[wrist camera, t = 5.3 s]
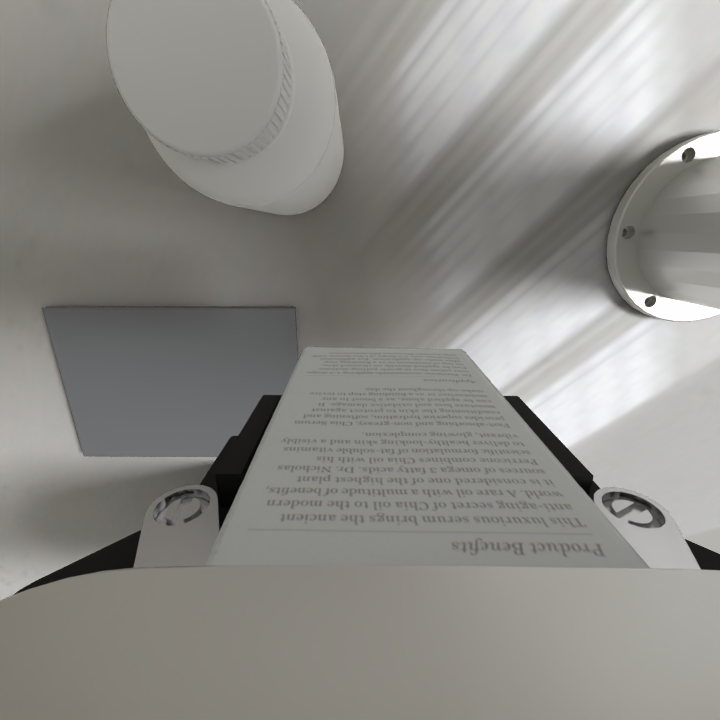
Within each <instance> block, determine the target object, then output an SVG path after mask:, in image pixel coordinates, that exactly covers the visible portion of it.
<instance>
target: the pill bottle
mask: <svg viewBox="0 0 720 720" xmlns="http://www.w3.org/2000/svg"><path fill="white" fill-rule="evenodd" d="M106 43H107V53H108V59H109V64H110V67H111V72H112V74H113V77H114V81H115V84H116V85H117V87H118V91H119V93H120V95H121V96H122V99H123V101H124V103H125V104H126V105H127V106H128V110H129V111H130V113H132V114H133V115H134V116H133V117H134V118H135V119H136V121H138V122H140V125H141V126H142V127H143V129H145V130H146V132H147V135H148V137H149V138H150V140H151V142H152V144H153V146H154V147H155V149H156V150H157V152H158V153H159V155H160V156H161V157H162V159H163V160H164V161H165V163H166V164H167V165H168V166H169V168H170V169H171V170H172V171H173V172H174V173H175V174H176V175H177V176H178V177H179V178H180V179H181V180H182V181H184V182H185V183H186V184H187V185H189V186H190V187H191V188H193V189H194V190H196V191H197V192H199V193H201V194H203V195H205V196H206V197H209V198H211V199H213V200H216V201H218V202H221V203H224V204H228V205H232V206H237V207H242V208H247V209H252V210H257V211H262V212H267V213H273V214H278V215H296V214H301V213H304V212H307V211H309V210H311V209H313V208H315V207H316V206H318V205H319V204H320V203H321V202H323V201H324V200H325V199H326V198H327V197H328V195H329V194H330V193H331V192H332V190H333V189H334V187H335V185H336V183H337V181H338V179H339V176H340V173H341V170H342V165H343V159H344V143H343V136H342V129H341V122H340V115H339V108H338V101H337V94H336V87H335V81H334V76H333V72H332V68H331V64H330V61H329V58H328V55H327V52H326V50H325V47H324V45H323V43H322V41H321V39H320V37H319V35H318V33H317V31H316V29H315V28H314V26H313V25H312V23H311V22H310V20H309V19H308V18H307V16H306V15H305V14H304V12H303V11H302V10H301V9H300V8H299V7H298V6H297V5H296V4H295V3H294V2H293V1H292V0H111V2H110V6H109V10H108V16H107V24H106Z"/></svg>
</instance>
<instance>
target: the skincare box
mask: <svg viewBox="0 0 720 720" xmlns="http://www.w3.org/2000/svg"><path fill="white" fill-rule="evenodd" d="M205 565H332V566H503V567H597V568H650V567H649V566H648V565H647V563H646V562H645V561H644V560H643V559H642V558H641V556H640V555H639V554H638V553H637V552H636V551H635V549H634V548H633V547H632V546H631V545H630V544H629V542H628V541H627V540H626V539H625V538H624V537H623V536H622V534H621V533H620V532H619V531H618V530H617V529H616V527H615V526H614V525H613V524H612V523H611V522H610V520H609V519H608V518H607V517H606V516H605V515H604V513H603V512H602V511H601V510H600V509H599V508H598V506H597V505H596V504H595V503H594V502H593V501H592V499H591V498H590V497H589V496H588V495H587V494H586V492H585V491H584V490H583V489H582V488H581V487H580V486H579V485H578V483H577V482H576V481H575V480H574V479H573V477H572V476H571V475H570V474H569V473H568V471H567V470H566V469H565V468H564V467H563V465H562V464H561V463H560V462H559V461H558V460H557V458H556V457H555V456H554V455H553V454H552V453H551V451H550V450H549V449H548V448H547V447H546V446H545V444H544V443H543V442H542V441H541V440H540V439H539V438H538V436H537V435H536V434H535V433H534V432H533V431H532V429H531V428H530V427H529V426H528V425H527V424H526V422H525V421H524V420H523V419H522V418H521V416H520V415H519V414H518V413H517V412H516V411H515V409H514V408H513V407H512V406H511V405H510V404H509V402H508V401H507V400H506V399H505V398H504V397H503V395H502V394H501V393H500V392H499V391H498V390H497V388H496V387H495V386H494V385H493V384H492V383H491V381H490V380H489V379H488V378H487V377H486V376H485V375H484V373H483V372H482V371H481V370H480V369H479V367H478V366H477V365H476V364H475V363H474V362H473V360H472V359H471V358H470V357H469V356H468V355H467V354H466V352H464V351H463V350H461V349H398V348H332V347H305V348H304V349H303V351H302V353H301V356H300V358H299V360H298V362H297V364H296V366H295V368H294V371H293V373H292V375H291V377H290V379H289V381H288V384H287V386H286V388H285V391H284V393H283V395H282V397H281V399H280V401H279V403H278V406H277V408H276V410H275V412H274V414H273V416H272V418H271V421H270V423H269V425H268V427H267V429H266V431H265V433H264V436H263V438H262V440H261V442H260V444H259V446H258V448H257V451H256V453H255V455H254V458H253V460H252V462H251V464H250V466H249V469H248V471H247V473H246V476H245V478H244V480H243V482H242V484H241V486H240V488H239V490H238V492H237V495H236V497H235V499H234V501H233V503H232V506H231V508H230V510H229V512H228V514H227V516H226V518H225V520H224V523H223V525H222V527H221V529H220V531H219V533H218V536H217V538H216V540H215V542H214V545H213V547H212V549H211V551H210V554H209V556H208V558H207V560H206V563H205Z"/></svg>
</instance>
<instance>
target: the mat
mask: <svg viewBox="0 0 720 720" xmlns="http://www.w3.org/2000/svg"><path fill="white" fill-rule="evenodd" d="M42 309H43V313H44V316H45V320H46V323H47V327H48V331H49V334H50V338H51V341H52V345H53V348H54V352H55V355H56V359H57V363H58V366H59V370H60V373H61V377H62V380H63V384H64V387H65V391H66V395H67V398H68V402H69V405H70V409H71V412H72V416H73V419H74V423H75V427H76V430H77V434H78V437H79V441H80V444H81V448H82V451H83V455H84V456H110V457H218V456H219V454H220V452H221V451H222V449H223V448H224V446H225V445H226V443H227V441H228V440H229V438H230V437H231V436H238V435H239V434H240V432H241V430H242V429H243V427H244V425H245V424H246V422H247V420H248V419H249V417H250V415H251V414H252V412H253V411H254V409H255V407H256V406H257V404H258V402H259V401H260V399H261V397H262V396H263V395H283V393H284V391H285V388H286V386H287V384H288V381H289V379H290V377H291V375H292V373H293V371H294V368H295V366H296V364H297V362H298V347H297V328H296V310H295V307H46V308H42Z"/></svg>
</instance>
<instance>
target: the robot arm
mask: <svg viewBox="0 0 720 720" xmlns="http://www.w3.org/2000/svg"><path fill="white" fill-rule="evenodd" d="M622 232H623V233H622ZM607 262H608V270H609V273H610V276H611V279H612V282H613V285H614V286H615V288H616V289H617V291H618V293H619V294H620V296H621V297H622V298H623V299H624V300H625V301H626V302H627V303H628V304H629V305H630V306H631V307H633V308H635V309H636V310H638V311H640V312H641V313H643V314H646V315H649V316H652V317H655V318H658V319H663V320H668V321H673V322H689V321H695V320H701V319H706V318H709V317H712V316H715V315H718V314H720V130H718V131H714V132H710V133H707V134H703V135H699V136H696V137H694V138H691V139H689V140H686V141H684V142H681V143H679V144H677V145H676V146H674V147H672V148H671V149H669V150H668V151H666V152H664V153H663V154H661V155H660V156H659V157H658V158H656V159H655V160H654V161H653V162H652V163H651V164H649V165H648V166H647V167H646V168H645V169H644V170H643V171H642V172H641V173H640V175H639V176H638V177H637V178H636V179H635V180H634V181H633V183H632V184H631V185H630V187H629V188H628V190H627V191H626V193H625V195H624V196H623V198H622V199H621V201H620V203H619V205H618V208H617V210H616V212H615V214H614V217H613V219H612V223H611V227H610V231H609V234H608V242H607ZM281 397H282V395H263V396H262V397H261V399H260V401H259V402H258V404H257V406H256V407H255V409H254V411H253V412H252V414H251V415H250V417H249V419H248V420H247V422H246V424H245V425H244V427H243V429H242V430H241V432H240V434H239V435H238V436H231V437H230V438H229V440H228V441H227V443H226V445H225V446H224V448H223V449H222V451H221V452H220V454H219V456H218V457H217V459H216V460H215V462H214V463H213V465H212V466H211V468H210V470H209V471H208V473H207V474H206V476H205V477H204V479H203V480H202V482H201V484H200V485H188V486H182V487H179V488H176V489H173V490H171V491H169V492H166V493H164V494H163V495H161V496H160V497H158V498H157V499H156V500H154V501H153V502H152V504H151V505H150V506H149V507H148V508H147V511H146V513H145V515H144V520H143V525H142V530H140V531H138V532H136V533H134V534H132V535H130V536H128V537H126V538H124V539H121V540H119V541H117V542H115V543H113V544H111V545H109V546H107V547H105V548H103V549H101V550H99V551H97V552H95V553H93V554H91V555H88V556H86V557H84V558H82V559H80V560H78V561H76V562H74V563H72V564H70V565H68V566H66V567H64V568H62V569H60V570H57V571H55V572H53V573H51V574H49V575H47V576H45V577H43V578H41V579H39V580H37V581H35V582H33V583H31V584H30V585H28V586H26V587H24V588H23V589H21V590H19V591H18V592H17V593H15V594H14V595H12V596H10V597H7V598H5V599H3V600H0V720H720V554H718V553H716V552H713V551H711V550H709V549H707V548H704V547H702V546H699V545H697V544H695V543H692V542H690V541H688V540H686V539H684V537H683V535H682V533H681V531H680V530H679V528H678V526H677V524H676V522H675V520H674V518H673V517H672V516H671V514H670V513H669V512H668V511H667V510H666V509H665V508H664V507H663V506H661V505H660V504H659V503H657V502H656V501H654V500H652V499H650V498H649V497H647V496H644V495H642V494H640V493H637V492H635V491H631V490H627V489H624V488H616V487H605V488H602V489H600V488H599V487H598V485H597V484H596V483H595V482H594V481H593V475H592V474H591V473H590V472H589V471H588V470H587V469H586V468H585V467H584V466H583V464H582V463H581V462H580V461H579V460H578V459H577V458H576V457H575V456H574V455H573V454H572V453H571V452H570V451H569V450H568V449H567V448H566V447H565V445H564V444H563V443H562V442H561V441H560V440H559V439H558V438H557V437H556V436H555V435H554V434H553V433H552V432H551V431H550V430H549V429H548V427H547V426H546V425H545V424H544V423H543V422H542V421H541V420H540V419H539V418H538V417H537V416H536V415H535V414H534V413H533V412H532V411H531V410H530V408H529V407H528V406H527V405H526V404H525V403H524V402H523V401H522V400H521V399H520V398H519V397H518V396H503V397H504V398H505V399H506V400H507V401H508V402H509V404H510V405H511V406H512V407H513V408H514V409H515V411H516V412H517V413H518V414H519V415H520V416H521V418H522V419H523V420H524V421H525V422H526V424H527V425H528V426H529V427H530V428H531V429H532V431H533V432H534V433H535V434H536V435H537V436H538V438H539V439H540V440H541V441H542V442H543V443H544V444H545V446H546V447H547V448H548V449H549V450H550V451H551V453H552V454H553V455H554V456H555V457H556V458H557V460H558V461H559V462H560V463H561V464H562V465H563V467H564V468H565V469H566V470H567V471H568V473H569V474H570V475H571V476H572V477H573V479H574V480H575V481H576V482H577V483H578V485H579V486H580V487H581V488H582V489H583V490H584V491H585V492H586V494H587V495H588V496H589V497H590V498H591V499H592V501H593V502H594V503H595V504H596V505H597V506H598V508H599V509H600V510H601V511H602V512H603V513H604V515H605V516H606V517H607V518H608V519H609V520H610V522H611V523H612V524H613V525H614V526H615V527H616V529H617V530H618V531H619V532H620V533H621V534H622V536H623V537H624V538H625V539H626V540H627V541H628V542H629V544H630V545H631V546H632V547H633V548H634V549H635V551H636V552H637V553H638V554H639V555H640V556H641V558H642V559H643V560H644V561H645V562H646V563H647V565H648V566H649V567H650V568H597V567H503V566H332V565H205V563H206V560H207V558H208V556H209V554H210V551H211V549H212V547H213V545H214V542H215V540H216V538H217V536H218V533H219V531H220V529H221V527H222V525H223V523H224V520H225V518H226V516H227V514H228V512H229V510H230V508H231V506H232V503H233V501H234V499H235V497H236V495H237V492H238V490H239V488H240V486H241V484H242V482H243V480H244V478H245V476H246V473H247V471H248V469H249V466H250V464H251V462H252V460H253V458H254V455H255V453H256V451H257V448H258V446H259V444H260V442H261V440H262V438H263V436H264V433H265V431H266V429H267V427H268V425H269V423H270V421H271V418H272V416H273V414H274V412H275V410H276V408H277V406H278V403H279V401H280V399H281Z"/></svg>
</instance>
